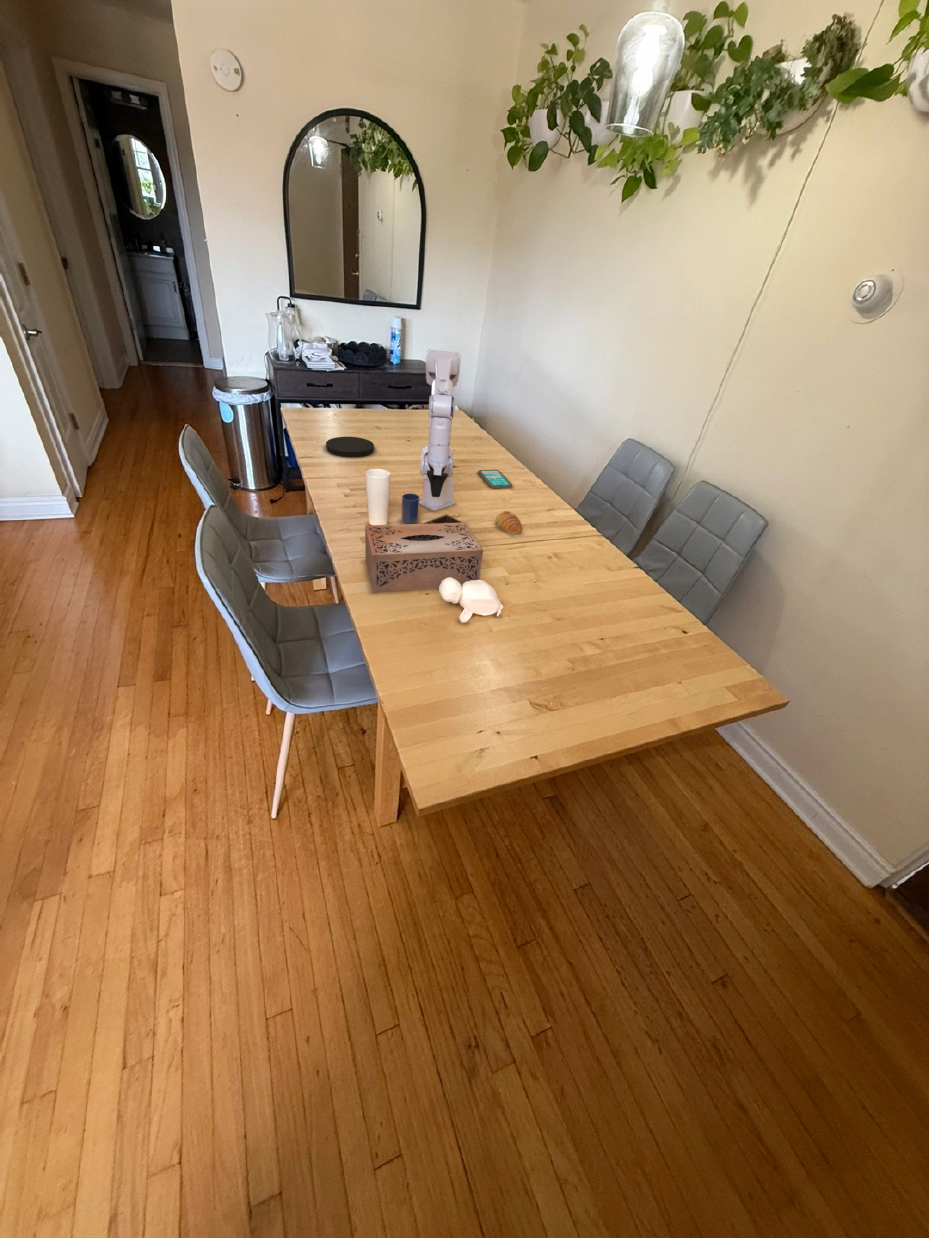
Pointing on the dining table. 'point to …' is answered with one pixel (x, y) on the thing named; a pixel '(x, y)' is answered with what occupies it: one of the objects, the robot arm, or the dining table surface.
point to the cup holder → (443, 520)
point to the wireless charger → (350, 447)
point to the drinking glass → (377, 495)
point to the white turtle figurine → (471, 597)
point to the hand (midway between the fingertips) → (435, 491)
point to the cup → (410, 508)
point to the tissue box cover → (420, 555)
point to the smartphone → (495, 479)
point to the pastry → (509, 522)
